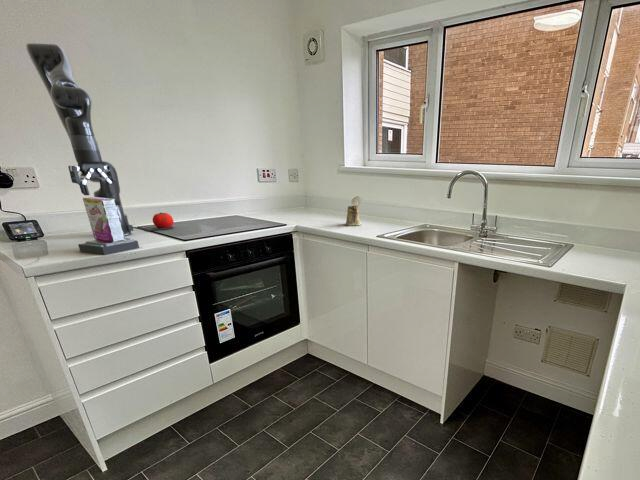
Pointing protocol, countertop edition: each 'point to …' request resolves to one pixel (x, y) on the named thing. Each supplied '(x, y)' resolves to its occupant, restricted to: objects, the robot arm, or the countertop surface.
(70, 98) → the robot arm
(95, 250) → the scale
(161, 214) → the tomato
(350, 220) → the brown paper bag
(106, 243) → the gray square plate
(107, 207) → the candy bar box
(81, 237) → the countertop surface
